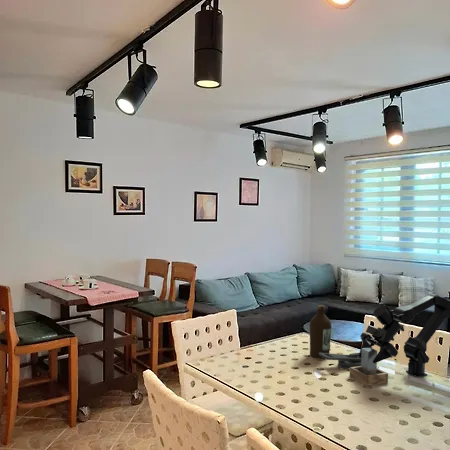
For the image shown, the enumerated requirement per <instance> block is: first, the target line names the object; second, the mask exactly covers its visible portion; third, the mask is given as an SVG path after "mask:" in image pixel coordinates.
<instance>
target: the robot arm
mask: <svg viewBox="0 0 450 450" xmlns="http://www.w3.org/2000/svg"><path fill="white" fill-rule="evenodd" d="M432 307H434V309H433V310H434V312H433V313H432V315H431V316H430V318H429V319H428V321H426V323H425V325H424V326H423V327H422V328H421V330H420V331H419V332H418V334H417V335H416V336H415V337H412V336H409V337H408V338H407V340H406V341H405V342H404V345H403V353H404V355H405V358H407V359H408V364H407V366H408V367H407V370H405V373H408V374H409V375H411V376H414V377H415V378H418V377H424V376H428V373H426V372H425V369H426V366H425V365H426V364H428V363H429V361H430V357H429V356H428V354H427V353H426V352H427V347H428V346H427V345H428V342H429V341H430V340H431V338H432V337H433V336H434V334H435V333H436V332H437V330H438V329H439V328H440V326H441V325H442V324H443V322H444V321H445V320H446V319H448V318H450V299H446V298H443V297H441V296H440V295H438V294H435V293H434V294H433V293H428V294H427V295H426V296H424V297H422V298H420V299H418V300H416V301H414V302H413V303H411V304H409V305H401V306H398V307H395V308H393V309H392V310H390V308H389V307H388V305H386V304H382V305H381V306H379V307H377V308H375V309H374V311H373V313H372V314H373V316H374V317H375V318H376V320H377V321H378V323H380V324H381V325H383V327H378V328H377V327H376V328H375V327H374V326H372V325H367V328H366V331H365V332H362V333H361V334H360V336H359V337H360V340H361V341H362V343H361V347H360V350H359V352H358V353H359V356H361V353H362V348H372V349H373V347H374V346H377V347H379V351H378V352H377V355H376V357H375V358H374V360H373V363H377V364H378V363H379V362H382V361H383V360H387V359H389V358H391V359H392V358H393V357H394V358H396V357H397V355H398V354H399V350H398V349H397V348H396V347H395V346H394V344H393V343H391V341H393V342H394V341H395V336H396V335H397V333H398V332H399V331H401V332H403V333H404V332H405V326H404V324H409V323H410V322H411V321H412V320H415V316H416V315H418V314H419V313H421V312H423V311H425V310H428V309H429V308H432ZM402 323H403V324H402Z"/></svg>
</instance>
